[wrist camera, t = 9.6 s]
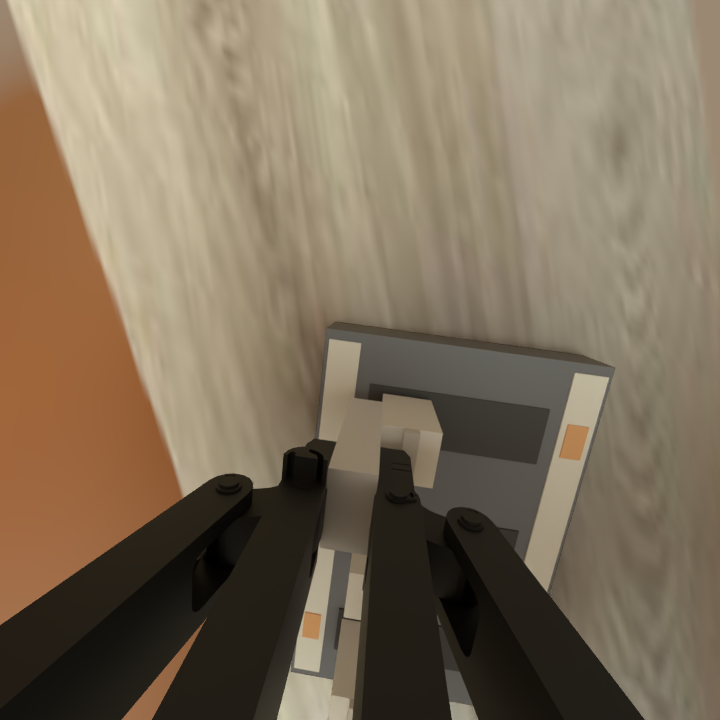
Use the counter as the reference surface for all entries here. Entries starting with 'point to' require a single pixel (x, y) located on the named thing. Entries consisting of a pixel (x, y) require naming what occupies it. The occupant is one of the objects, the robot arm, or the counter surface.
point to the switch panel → (464, 451)
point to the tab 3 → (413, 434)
